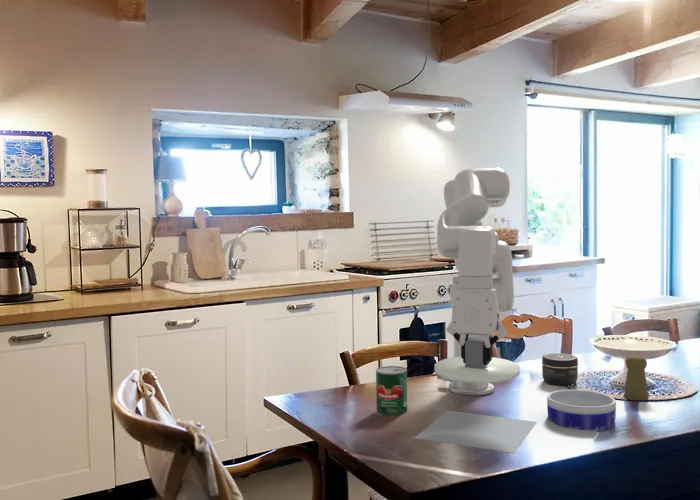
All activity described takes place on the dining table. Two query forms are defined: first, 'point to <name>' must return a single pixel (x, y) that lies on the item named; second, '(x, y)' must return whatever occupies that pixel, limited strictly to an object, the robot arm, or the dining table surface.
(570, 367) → the jar
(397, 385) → the canned tomato
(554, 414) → the dog bowl
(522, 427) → the mat
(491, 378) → the lid
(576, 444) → the dining table surface
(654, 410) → the dining table surface
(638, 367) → the olive pawn
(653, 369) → the dining table surface
